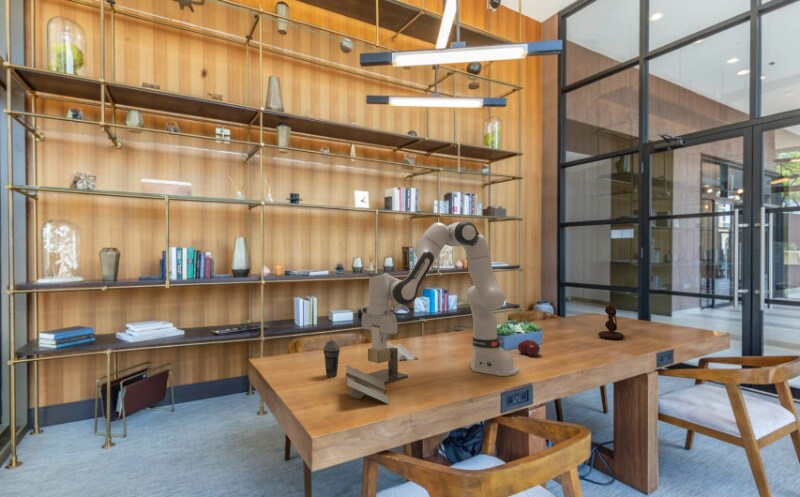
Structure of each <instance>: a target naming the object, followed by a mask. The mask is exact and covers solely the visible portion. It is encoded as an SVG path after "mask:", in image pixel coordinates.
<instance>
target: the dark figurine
mask: <svg viewBox="0 0 800 497" xmlns="http://www.w3.org/2000/svg"><path fill="white" fill-rule="evenodd" d="M604 312H605V314H606V315H608V316H607V319H608V320H606V321H605V324H604V325H605V328H606V329H607V330H603V331H599V332H598V333H597V336H598V337H602V340H605V339H606V338H607V339H619V340H620V341H622V339H624V338H625V334H623V333H621V332H619V331H617V328H618V324H617V323H618V322H617V316H616V314H617V309H616V308H614V306H611V305H609V306H606V307H605V308H604Z"/></svg>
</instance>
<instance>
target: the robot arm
mask: <svg viewBox="0 0 800 497" xmlns="http://www.w3.org/2000/svg"><path fill="white" fill-rule="evenodd" d="M485 237H486V236H484V235H483V234H481V233H479V231H478V229H477V227H476V226H475V224H473V223H472V222H470V221H466V220H465V221H457V222H456V221H455V222H453V223H450V224H447V225H446V224H445V223H442V222H439V221H438V222H433V224H431V226H430V227H428V228H427V229H426V230H425V232H424V233H423V234H422V235H421V237H420V238H419V239H418V241H417V243H416V245H415V246H414V254H415V257H416V261H415V264H414V265H413V268H412V269H411V271H410V272H409V274H408V275H407V276H406V278H404V279H399V278H396V277H394V276H392V275H390V274H389V273H387V272H383V271H382V272H376V273H373V274H371V276H370V277H369V283H368V295H369V301H368V306H367V305H366V306H363V307H361V313H362V315H361V327H362V329H364V330H368V331H370V335H371V336H372V325H377V326H380V330H379V331H380V332H381V333H383V335H384V336H383V339H381V343H386V342H388V341H387V339H388V336H389V335H396V334H397V333H398V321H397V315H396V314H395V313H394V312H393V311H390V301H394V302H396V303H398V304H400V305H403V306H408V305H411V304H412V303H414V301H415V300H416V298H417V297H418V292H419V289H420V286H421V284H422V283H423V280H425V278H426V276H427V274H428V273H429V271H430V269H431V268H432V267H433V266H432V265H433V264H434V262H435V260H436V259H437V257H438V256H439V255H440V253H441V252H442V251H443V248H444V247H445V246H446V245H447V246H450V247H462V248H463V249H464V250H465V256H466V264H467V268H468V274H469V277H470V278H471V280H472V282H473V284H474V285H471V286H470V287H469V288H468V290H467V292H466V298H467V301H468V303H469V307H470V311H471V315H472V322H473V324H472V327H473V329H472V330H473V331H472V332H473V334H472V335H473V337H472V347H473V348H472V355H471V356H472V357H471V361H470V362H471V363H470V366H469V367H470V368H471V371H472V372H477V373H482V374H487V375H492V376H493V375H494V376H499V377H508V376H509V377H510V376H513V375H516V374H518V373H519V371H520V370H519V367H517V366H515V365H514V359H513V357H512V356H511V355H510V354H509V353H508V352H507V351H506V350H505V349H504V348H503V347H501V345H502V344H503V340H499V337H498V321H497V319H496V317H495V314H494V311H495V310H499V309H501V308H502V307H503V306H504V304H505V301H506V297H505V294H504V292H503V291H502V290H501V288H500V286H499V284H498V281H497V279H496V276H495V274H494V269H493V266H492V260H491V253H490V248H489V246H488V243H487V240H486V238H485Z"/></svg>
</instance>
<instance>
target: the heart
mask: <svg viewBox="0 0 800 497" xmlns="http://www.w3.org/2000/svg"><path fill="white" fill-rule="evenodd" d="M540 349H541V348H540V345H539V344H538V343H537V342H536V341H534V340H532V339H526V340H523V341H521V342H520V343H519V342H518V345H517V350H518V352H519V353H521V354H522V355H523V354H524V355H527V356H531V357H535V356H537V355H538V354H539V353H540Z"/></svg>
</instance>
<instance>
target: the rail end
mask: <svg viewBox="0 0 800 497" xmlns="http://www.w3.org/2000/svg"><path fill="white" fill-rule="evenodd" d="M379 330H380V326H377V325H372V335H371V348H372V350H375V351H382V350H387V342H388V341H387V342H386V343H381V339H383V336H384V335H383V333H381V332H380V331H379Z"/></svg>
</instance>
